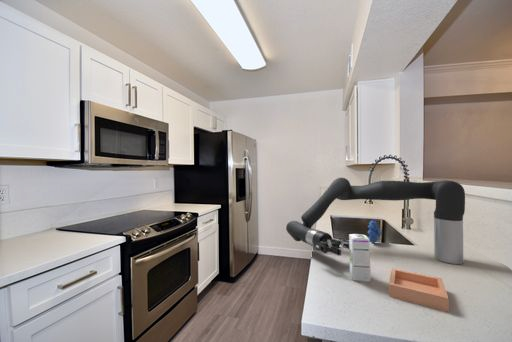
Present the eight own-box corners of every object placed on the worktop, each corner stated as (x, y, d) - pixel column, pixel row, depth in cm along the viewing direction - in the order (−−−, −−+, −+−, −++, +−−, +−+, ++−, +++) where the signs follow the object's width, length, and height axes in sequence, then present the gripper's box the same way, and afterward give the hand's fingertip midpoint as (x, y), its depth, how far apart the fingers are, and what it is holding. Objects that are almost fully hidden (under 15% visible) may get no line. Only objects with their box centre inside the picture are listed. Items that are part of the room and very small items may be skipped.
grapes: (379, 247, 109) (379, 223, 109) (364, 244, 114) (364, 221, 114) (385, 242, 118) (385, 219, 118) (371, 239, 122) (371, 217, 122)
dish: (391, 278, 77) (391, 268, 77) (441, 289, 69) (441, 278, 70) (389, 295, 66) (389, 284, 66) (448, 311, 58) (448, 298, 58)
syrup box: (371, 282, 74) (370, 238, 74) (352, 280, 75) (352, 237, 76) (366, 274, 80) (366, 234, 80) (348, 273, 81) (348, 233, 81)
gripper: (305, 232, 93) (334, 243, 79) (330, 228, 100) (362, 238, 85) (305, 250, 93) (334, 264, 79) (331, 245, 99) (362, 257, 85)
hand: (348, 250), depth 82 cm, fingers open, 8 cm apart
